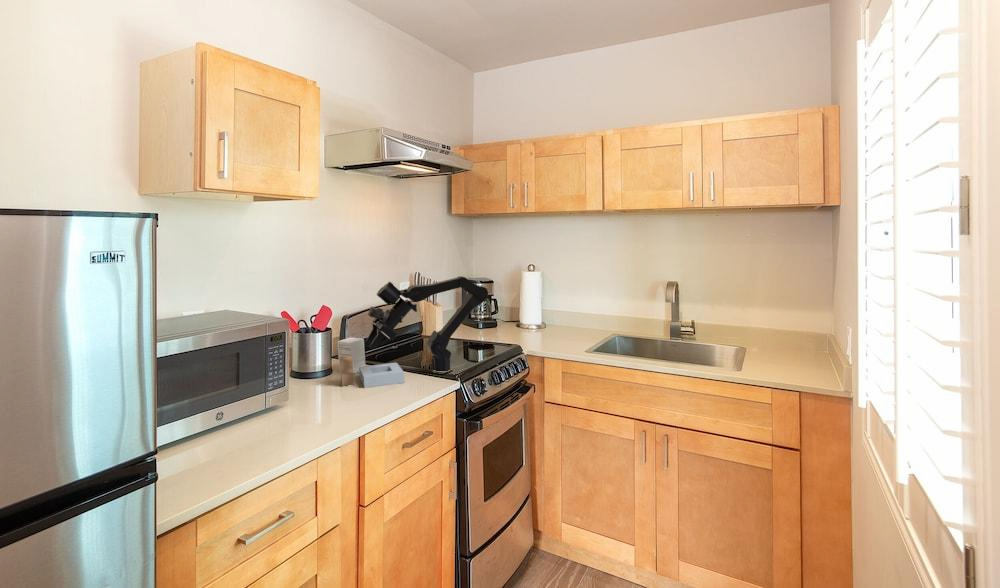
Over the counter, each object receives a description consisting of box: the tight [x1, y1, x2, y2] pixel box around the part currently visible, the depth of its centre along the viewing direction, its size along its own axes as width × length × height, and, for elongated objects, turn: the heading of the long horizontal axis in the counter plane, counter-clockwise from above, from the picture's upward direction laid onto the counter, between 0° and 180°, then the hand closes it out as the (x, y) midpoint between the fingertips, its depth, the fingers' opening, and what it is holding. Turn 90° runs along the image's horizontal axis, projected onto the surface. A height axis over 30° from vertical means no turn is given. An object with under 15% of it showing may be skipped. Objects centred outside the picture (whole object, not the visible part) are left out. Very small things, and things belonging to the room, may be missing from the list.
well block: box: [358, 362, 405, 389], centre depth 177 cm, size 14×14×4 cm
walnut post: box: [340, 356, 355, 387], centre depth 172 cm, size 4×4×10 cm
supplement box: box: [336, 337, 366, 375], centre depth 189 cm, size 7×7×13 cm
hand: (368, 345), depth 174 cm, fingers open, 9 cm apart
